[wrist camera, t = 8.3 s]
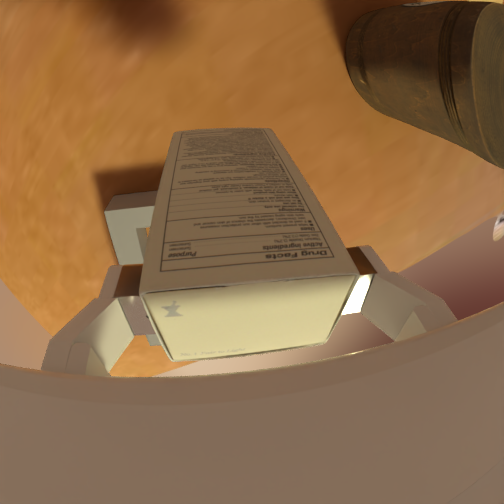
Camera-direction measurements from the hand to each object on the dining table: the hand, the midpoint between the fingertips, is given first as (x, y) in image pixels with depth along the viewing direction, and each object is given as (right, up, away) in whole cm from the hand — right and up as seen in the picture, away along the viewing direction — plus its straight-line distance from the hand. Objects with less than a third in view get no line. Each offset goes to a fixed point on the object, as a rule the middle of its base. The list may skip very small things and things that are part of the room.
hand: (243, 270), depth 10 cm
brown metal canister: (+18, +24, +15) cm, 33 cm away
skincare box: (-1, +7, +8) cm, 10 cm away
